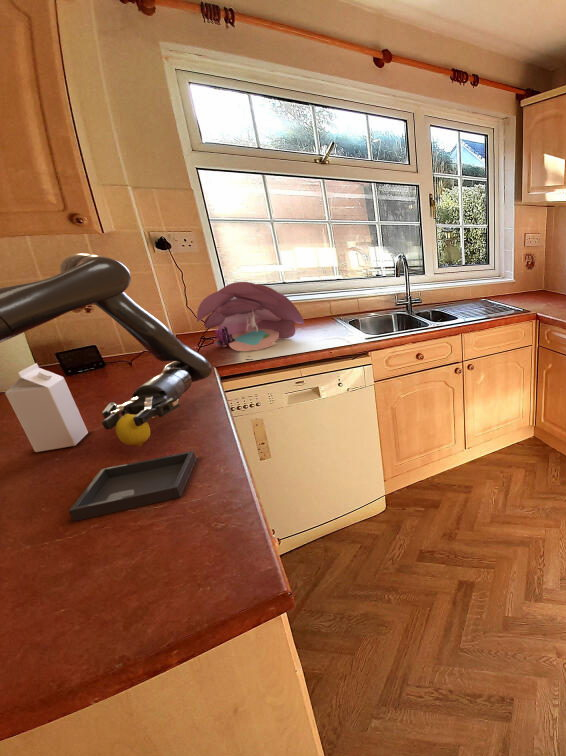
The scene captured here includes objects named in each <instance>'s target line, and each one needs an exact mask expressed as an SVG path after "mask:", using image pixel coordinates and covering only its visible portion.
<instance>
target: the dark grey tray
mask: <svg viewBox="0 0 566 756" xmlns="http://www.w3.org/2000/svg"><path fill="white" fill-rule="evenodd" d="M196 462H197V457H196V454H195V451H194V450H191V451H187V452H180V453H175V454H170V455H166V456H160V457H155V458H151V459H150V458H149V459H145V460H139V461H135V462H130V463H124V464H119V465H113V466H109V467H104V468H101V469H100V470H99V471H98V473H97V474H96V476H94V478H93V479H92V480H91V481H90V483H89V484H88V485H87V487H86V488H85V489H84V491H83V492H82V493H81V494H80V496H79V497H78V498H77V499H76V500H75V502H74V503H73V504H72V505H71V507H70V508H69V510H68V513H69V515H70V517H71V519H72V521H73V522H77V521H81V520H86V519H89V518H96V517H99V516H104V515H108V514H113V513H116V512H121V511H125V510H130V509H134V508H139V507H144V506H148V505H152V504H156V503H157V504H158V503H159V502H165V501H169V500H174V499H178V498H181V497H182V496H183V492H184V490H185V489H186V486H187V483H188V480H189V479H190V476H191V474H192V472H193V469H194V467H195V465H196Z"/></svg>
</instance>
